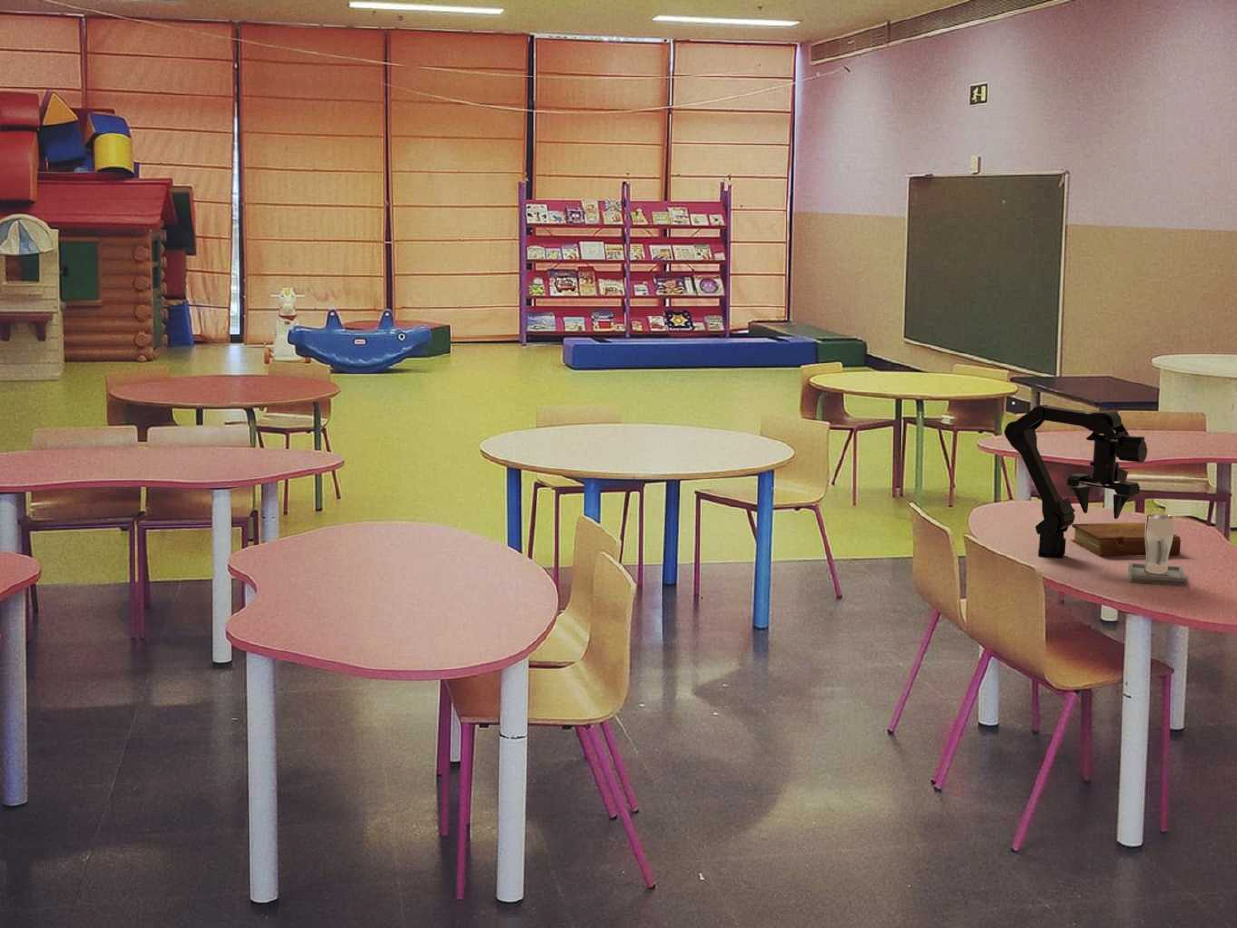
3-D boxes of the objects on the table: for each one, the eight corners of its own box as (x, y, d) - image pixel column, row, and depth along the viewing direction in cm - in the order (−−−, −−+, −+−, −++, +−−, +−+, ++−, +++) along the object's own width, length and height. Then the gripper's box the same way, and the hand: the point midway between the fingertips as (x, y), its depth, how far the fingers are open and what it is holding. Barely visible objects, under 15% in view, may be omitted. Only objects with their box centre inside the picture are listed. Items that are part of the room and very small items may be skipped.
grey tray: (1131, 582, 353) (1131, 574, 353) (1128, 570, 366) (1128, 562, 365) (1186, 586, 350) (1186, 578, 349) (1180, 573, 362) (1181, 566, 362)
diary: (1099, 559, 380) (1101, 538, 379) (1070, 543, 399) (1071, 523, 398) (1179, 556, 383) (1181, 536, 382) (1147, 541, 401) (1148, 521, 400)
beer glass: (1175, 575, 355) (1180, 518, 353) (1152, 577, 353) (1156, 519, 351) (1158, 569, 362) (1163, 513, 359) (1135, 570, 360) (1139, 514, 357)
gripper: (1153, 460, 366) (1149, 518, 368) (1090, 450, 380) (1087, 506, 383) (1129, 464, 359) (1125, 523, 361) (1067, 454, 373) (1063, 511, 376)
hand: (1100, 515), depth 371 cm, fingers open, 9 cm apart
